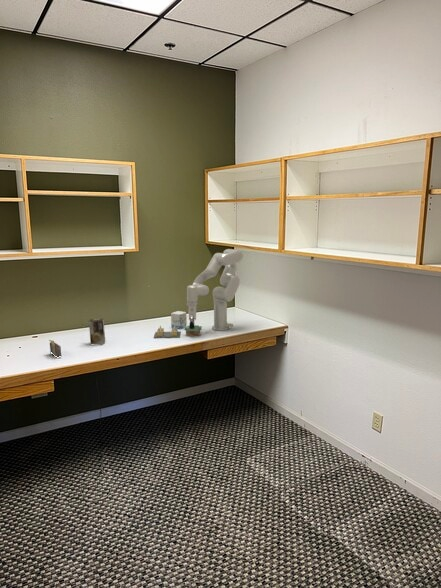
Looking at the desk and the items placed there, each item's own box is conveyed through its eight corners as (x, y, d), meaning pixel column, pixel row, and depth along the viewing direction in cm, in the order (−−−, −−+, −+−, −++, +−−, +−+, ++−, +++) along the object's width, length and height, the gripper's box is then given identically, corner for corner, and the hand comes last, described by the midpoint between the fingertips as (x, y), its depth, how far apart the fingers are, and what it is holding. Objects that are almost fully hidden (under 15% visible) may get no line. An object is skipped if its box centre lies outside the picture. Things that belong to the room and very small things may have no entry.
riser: (200, 334, 302) (200, 328, 301) (200, 335, 298) (200, 330, 297) (186, 334, 302) (186, 328, 301) (185, 336, 298) (185, 330, 297)
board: (201, 328, 303) (201, 325, 302) (201, 330, 296) (201, 328, 295) (184, 328, 302) (184, 325, 302) (184, 331, 295) (184, 328, 295)
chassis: (180, 332, 305) (180, 324, 304) (179, 337, 294) (179, 328, 292) (155, 333, 305) (155, 324, 303) (153, 338, 293) (153, 329, 292)
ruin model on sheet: (49, 354, 263) (48, 339, 261) (54, 353, 265) (53, 338, 263) (56, 359, 254) (55, 344, 252) (61, 358, 256) (60, 343, 254)
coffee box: (105, 341, 286) (104, 318, 283) (104, 344, 280) (103, 320, 277) (91, 342, 285) (89, 319, 282) (90, 345, 279) (88, 321, 275)
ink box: (179, 329, 313) (179, 314, 311) (171, 327, 318) (170, 312, 316) (187, 327, 320) (186, 312, 317) (178, 325, 325) (178, 310, 322)
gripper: (197, 305, 287) (197, 330, 290) (197, 300, 304) (197, 323, 307) (186, 305, 286) (186, 330, 289) (187, 300, 303) (187, 323, 306)
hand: (191, 326), depth 298 cm, fingers open, 9 cm apart
